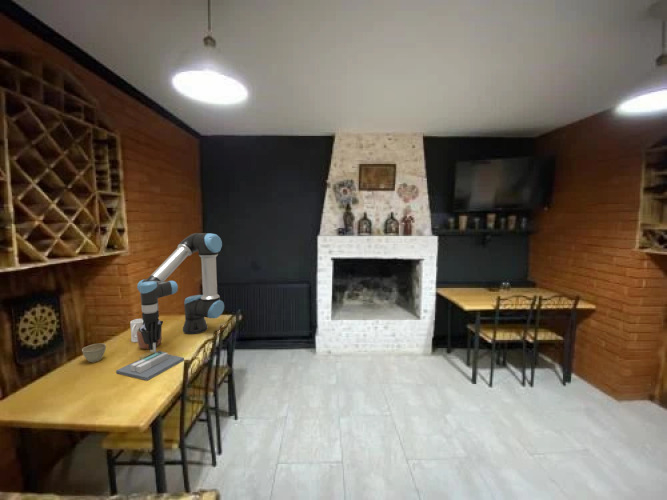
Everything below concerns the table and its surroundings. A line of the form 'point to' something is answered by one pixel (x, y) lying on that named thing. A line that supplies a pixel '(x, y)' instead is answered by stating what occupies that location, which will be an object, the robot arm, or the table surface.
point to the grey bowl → (94, 352)
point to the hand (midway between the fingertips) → (153, 354)
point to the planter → (141, 341)
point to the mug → (135, 328)
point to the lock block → (146, 355)
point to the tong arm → (133, 366)
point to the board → (152, 370)
